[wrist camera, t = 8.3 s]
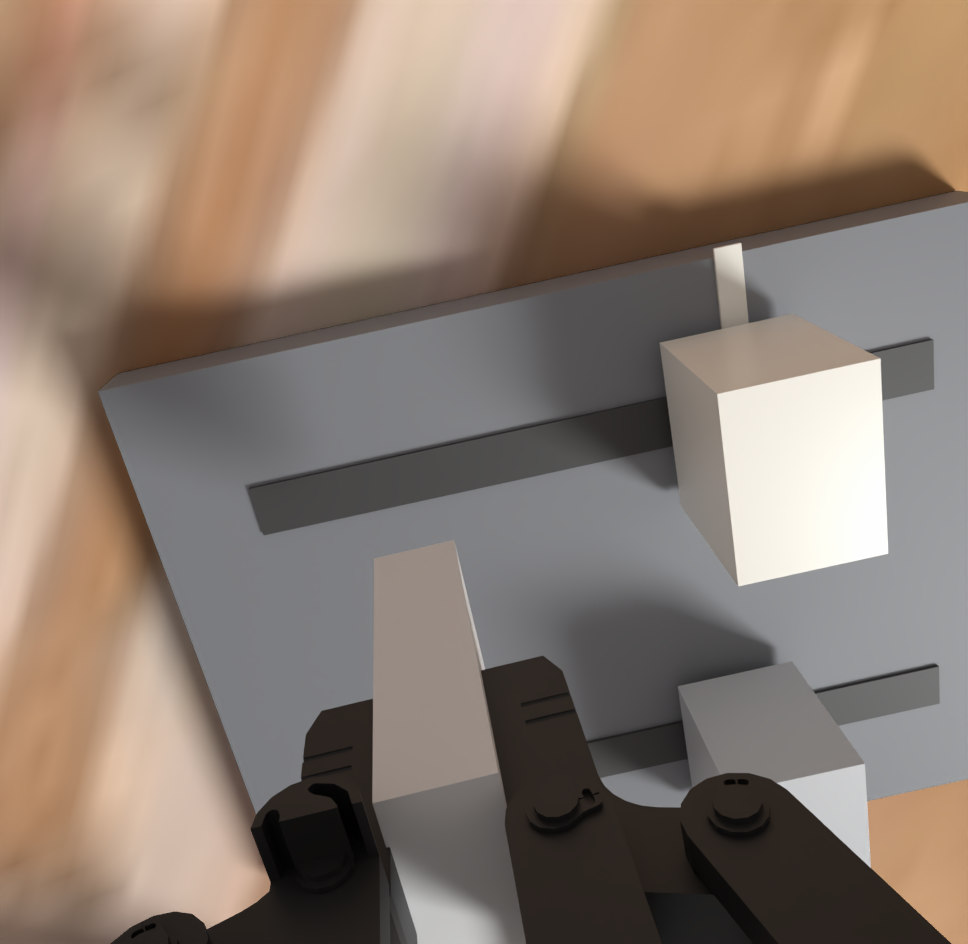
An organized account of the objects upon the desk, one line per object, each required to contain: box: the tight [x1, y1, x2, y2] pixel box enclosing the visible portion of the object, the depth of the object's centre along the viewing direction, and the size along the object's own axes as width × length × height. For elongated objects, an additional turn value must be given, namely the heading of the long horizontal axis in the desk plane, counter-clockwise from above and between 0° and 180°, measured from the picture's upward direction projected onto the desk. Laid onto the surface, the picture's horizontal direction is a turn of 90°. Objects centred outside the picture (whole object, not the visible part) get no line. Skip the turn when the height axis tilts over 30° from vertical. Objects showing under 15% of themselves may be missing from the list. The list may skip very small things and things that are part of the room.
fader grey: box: [678, 661, 871, 868], centre depth 22 cm, size 3×4×4 cm
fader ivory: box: [660, 314, 888, 586], centre depth 19 cm, size 3×4×4 cm
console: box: [98, 191, 968, 815], centre depth 24 cm, size 20×16×2 cm
